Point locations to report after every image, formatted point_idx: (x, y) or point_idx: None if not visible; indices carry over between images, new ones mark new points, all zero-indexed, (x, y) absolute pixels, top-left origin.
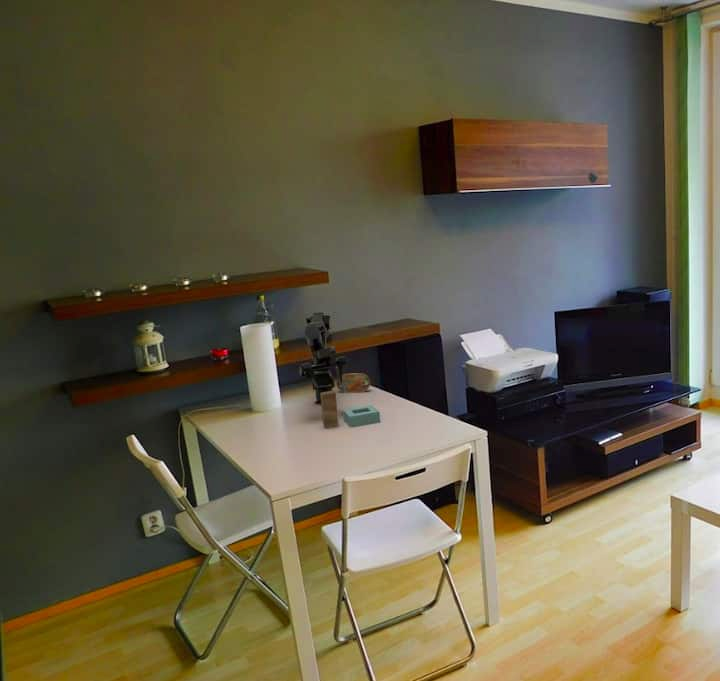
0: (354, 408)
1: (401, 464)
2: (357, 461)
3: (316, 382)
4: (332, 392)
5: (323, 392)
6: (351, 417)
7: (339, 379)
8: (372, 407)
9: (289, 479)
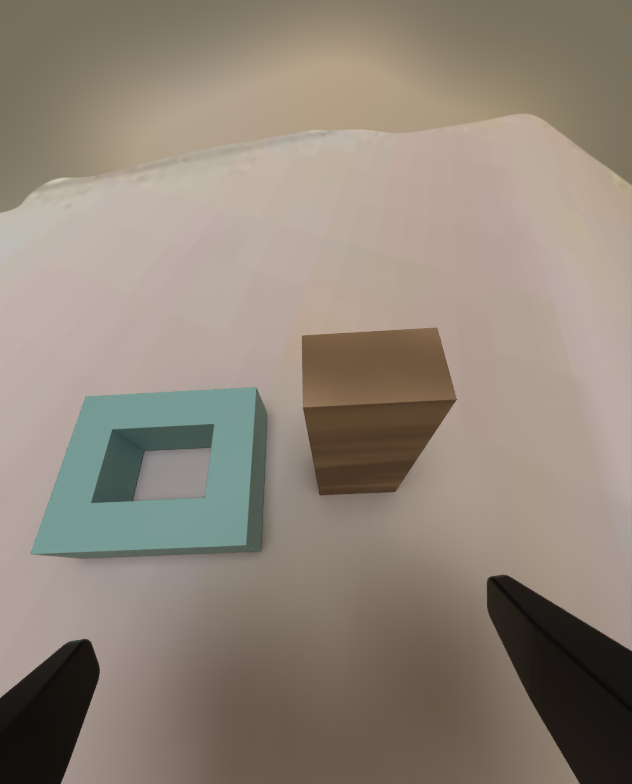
0: (165, 536)
1: (246, 144)
2: (333, 172)
3: (580, 626)
4: (327, 350)
5: (419, 393)
6: (247, 391)
7: (39, 760)
8: (63, 493)
9: (505, 143)
